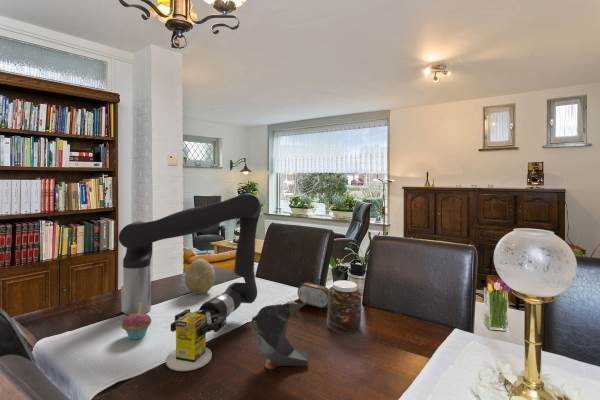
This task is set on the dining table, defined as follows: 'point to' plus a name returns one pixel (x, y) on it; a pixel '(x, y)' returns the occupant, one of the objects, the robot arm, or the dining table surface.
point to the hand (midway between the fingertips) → (184, 330)
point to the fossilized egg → (199, 276)
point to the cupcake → (136, 324)
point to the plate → (186, 365)
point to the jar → (344, 307)
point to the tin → (313, 295)
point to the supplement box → (190, 337)
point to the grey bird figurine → (278, 335)
